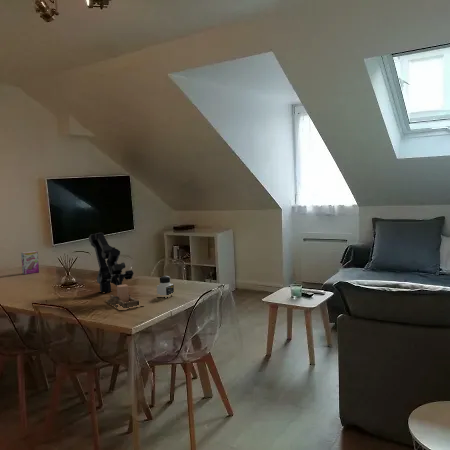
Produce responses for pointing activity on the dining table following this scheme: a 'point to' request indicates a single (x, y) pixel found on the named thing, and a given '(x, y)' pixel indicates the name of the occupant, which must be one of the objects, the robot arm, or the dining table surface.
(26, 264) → the candy bar box
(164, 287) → the medicine bottle
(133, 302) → the walnut chute
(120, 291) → the terracotta block
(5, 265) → the dining table surface
